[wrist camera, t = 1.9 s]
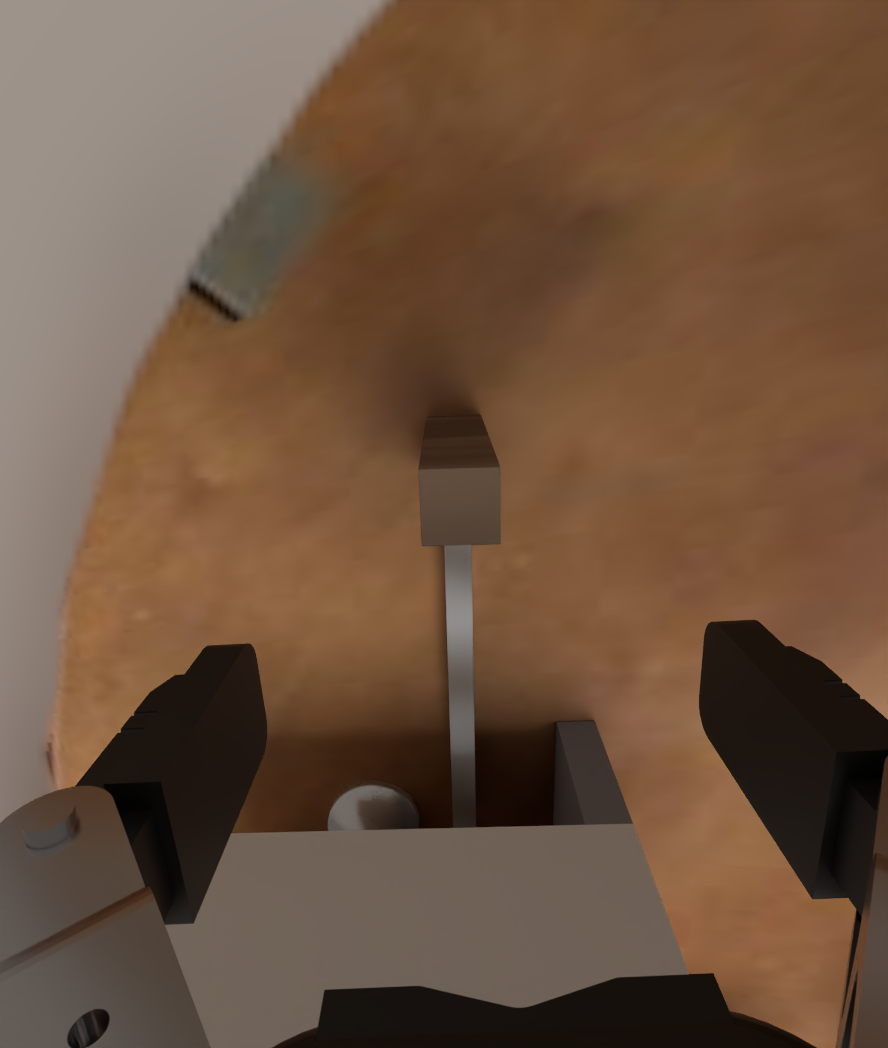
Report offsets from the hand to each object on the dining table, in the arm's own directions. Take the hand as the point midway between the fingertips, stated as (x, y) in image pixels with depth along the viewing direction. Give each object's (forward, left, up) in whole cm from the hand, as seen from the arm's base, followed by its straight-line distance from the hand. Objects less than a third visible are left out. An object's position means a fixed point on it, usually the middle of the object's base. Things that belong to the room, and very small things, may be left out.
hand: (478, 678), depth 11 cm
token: (+20, -5, -19) cm, 28 cm away
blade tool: (+9, 0, -18) cm, 20 cm away
